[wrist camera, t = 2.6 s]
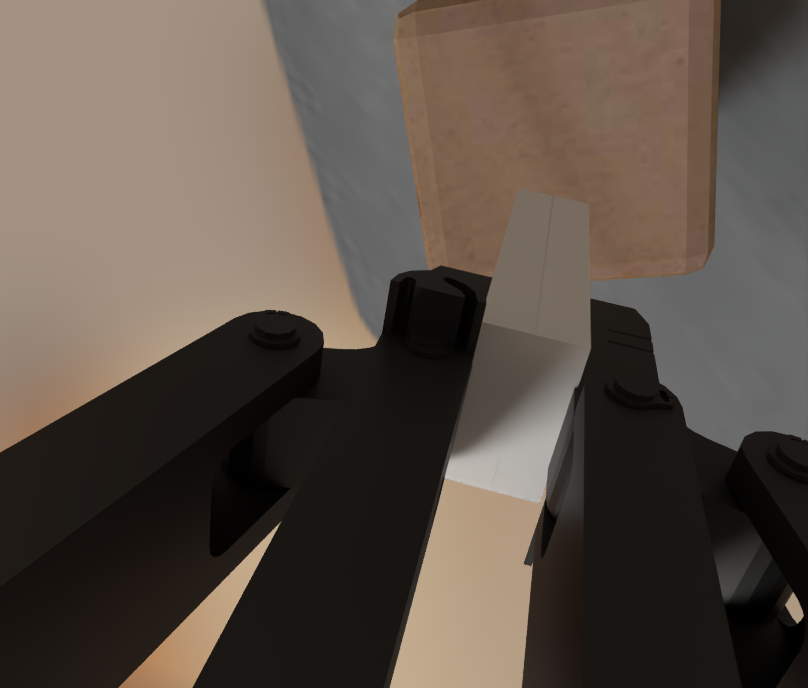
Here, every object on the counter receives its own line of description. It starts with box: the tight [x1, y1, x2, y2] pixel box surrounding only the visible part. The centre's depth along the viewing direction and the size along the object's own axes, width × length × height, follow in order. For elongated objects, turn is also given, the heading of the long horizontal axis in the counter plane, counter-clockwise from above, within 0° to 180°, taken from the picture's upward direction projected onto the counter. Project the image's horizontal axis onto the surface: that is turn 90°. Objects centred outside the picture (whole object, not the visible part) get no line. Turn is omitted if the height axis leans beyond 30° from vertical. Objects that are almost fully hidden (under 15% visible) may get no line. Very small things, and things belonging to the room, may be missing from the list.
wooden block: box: [393, 0, 721, 281], centre depth 32 cm, size 10×10×20 cm
